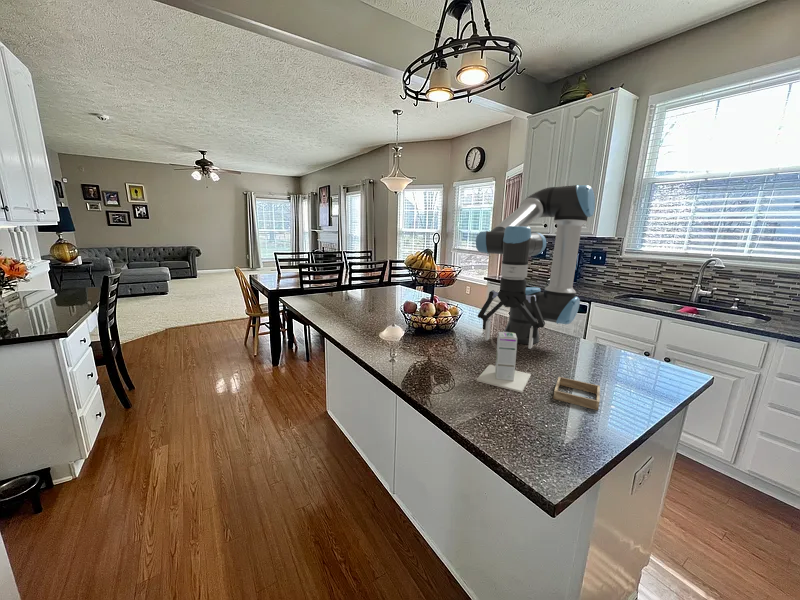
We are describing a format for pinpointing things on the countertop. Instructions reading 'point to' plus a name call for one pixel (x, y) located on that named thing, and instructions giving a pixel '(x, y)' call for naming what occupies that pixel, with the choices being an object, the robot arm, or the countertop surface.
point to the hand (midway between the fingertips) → (508, 343)
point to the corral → (574, 398)
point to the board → (516, 385)
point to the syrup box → (506, 356)
